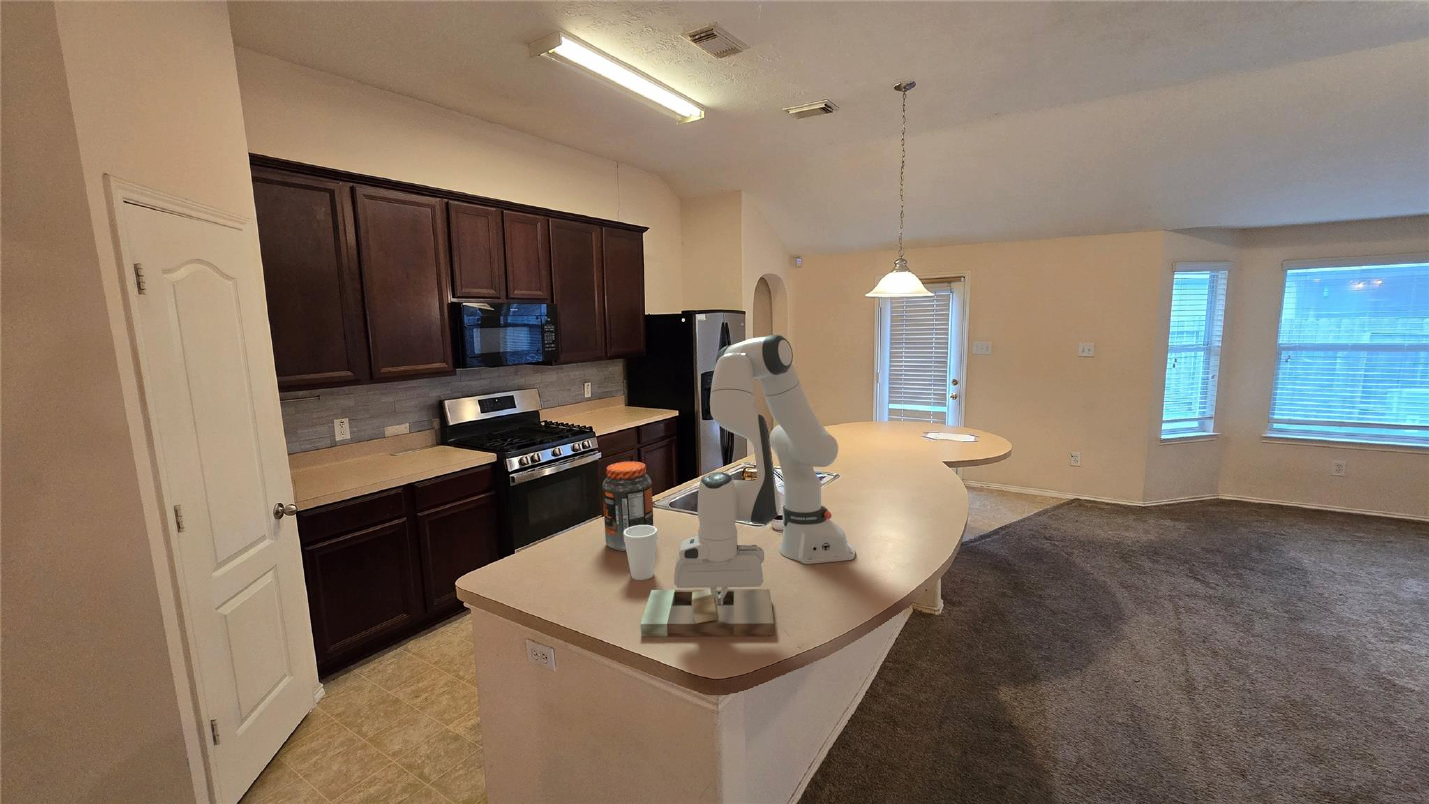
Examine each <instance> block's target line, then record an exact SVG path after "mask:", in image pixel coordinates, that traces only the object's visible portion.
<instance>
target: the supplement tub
mask: <svg viewBox="0 0 1429 804" xmlns="http://www.w3.org/2000/svg"><path fill="white" fill-rule="evenodd" d="M605 473H606V475H607V476H606V477H605V478H604V480H603V482H602V486H601V488H602V503H603V505H602V506H603V517H604V518H603V520H604V534H605V535H604V536H605V543H606V545H607V546H608V547H609V548H611V549H612V550H616V551H621V552H627V551H626V546H625V542H624V530H626V529H627V528H629V527H632V526H637V525H650V526H654V505H653V502H654V501H653V485H652V484H653V482H652V479H651V478H650V476H649V475H648V474H647V469H646V464H645V463H643V462H640V461H620V462H616V463H612V464H610V465H608V466H607V467H606V472H605Z"/></svg>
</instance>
